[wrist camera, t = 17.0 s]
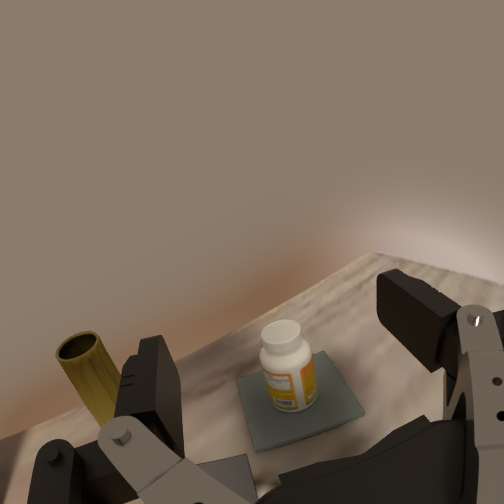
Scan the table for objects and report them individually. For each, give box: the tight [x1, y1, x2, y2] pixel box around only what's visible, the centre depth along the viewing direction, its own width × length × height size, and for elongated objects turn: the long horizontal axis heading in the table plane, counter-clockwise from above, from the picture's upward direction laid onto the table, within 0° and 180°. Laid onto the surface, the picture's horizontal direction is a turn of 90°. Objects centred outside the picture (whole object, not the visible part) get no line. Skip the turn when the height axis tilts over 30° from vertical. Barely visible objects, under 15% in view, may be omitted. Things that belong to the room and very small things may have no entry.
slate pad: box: [236, 351, 365, 453], centre depth 34 cm, size 12×12×1 cm
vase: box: [56, 331, 121, 428], centre depth 29 cm, size 6×6×14 cm
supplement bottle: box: [259, 320, 317, 412], centre depth 32 cm, size 5×5×10 cm
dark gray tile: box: [197, 454, 258, 504], centre depth 22 cm, size 10×10×1 cm
